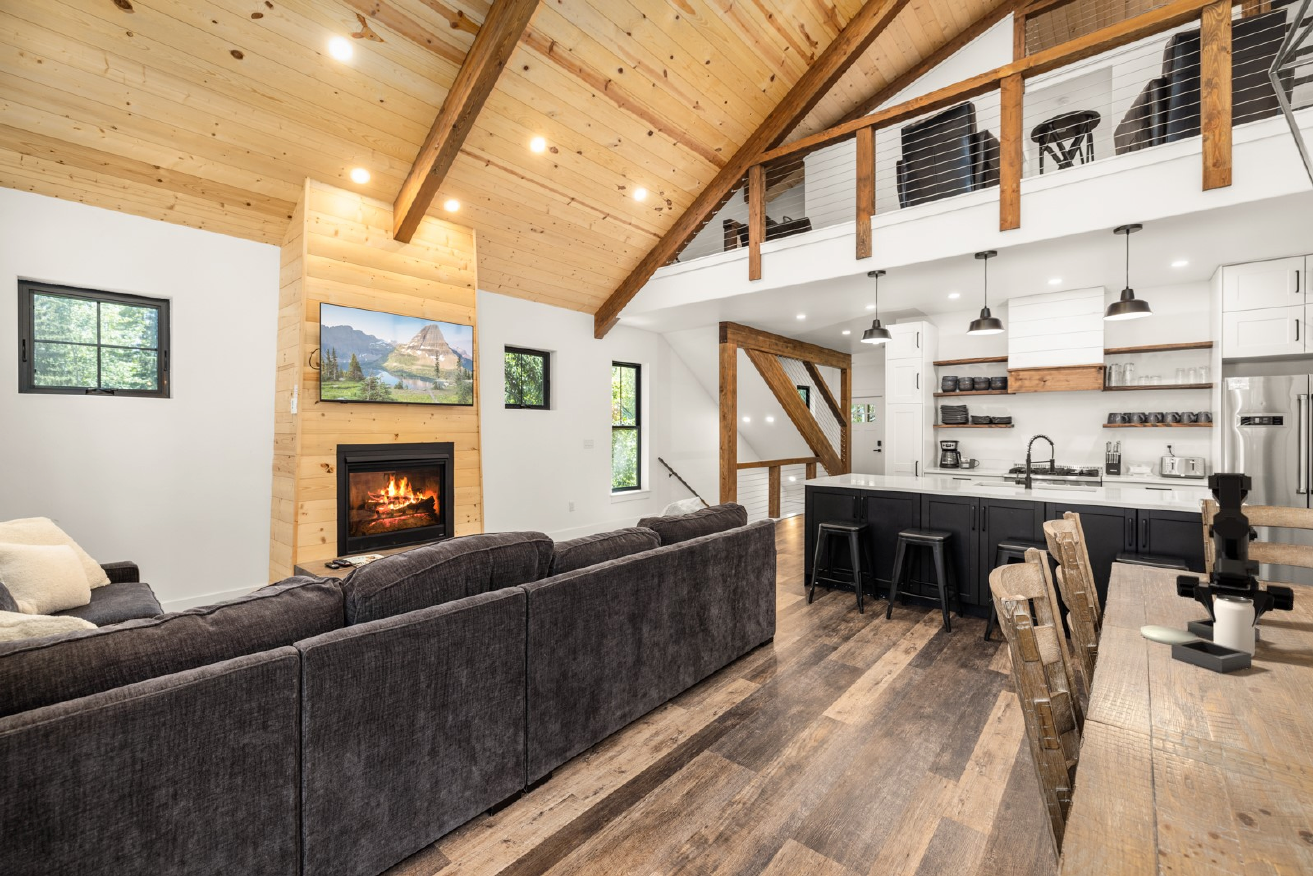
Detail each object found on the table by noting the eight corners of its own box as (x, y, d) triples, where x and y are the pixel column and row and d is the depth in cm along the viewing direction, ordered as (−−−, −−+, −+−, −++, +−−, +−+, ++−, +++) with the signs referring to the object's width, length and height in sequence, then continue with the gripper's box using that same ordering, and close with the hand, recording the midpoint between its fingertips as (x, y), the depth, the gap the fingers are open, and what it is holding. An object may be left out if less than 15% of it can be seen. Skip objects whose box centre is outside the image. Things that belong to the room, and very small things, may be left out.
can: (1236, 647, 132) (1236, 594, 131) (1263, 659, 125) (1263, 603, 125) (1205, 647, 132) (1205, 594, 132) (1230, 658, 126) (1230, 603, 126)
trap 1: (1200, 652, 129) (1199, 639, 129) (1251, 667, 121) (1251, 653, 121) (1171, 658, 127) (1171, 644, 127) (1221, 673, 118) (1221, 659, 118)
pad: (1159, 629, 145) (1159, 623, 145) (1207, 642, 135) (1207, 636, 135) (1130, 634, 142) (1130, 628, 142) (1177, 648, 132) (1177, 641, 132)
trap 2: (1213, 629, 144) (1212, 617, 144) (1259, 642, 135) (1259, 629, 135) (1187, 634, 141) (1187, 621, 141) (1233, 646, 132) (1233, 633, 132)
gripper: (1175, 540, 138) (1173, 596, 130) (1292, 549, 125) (1297, 613, 117) (1178, 567, 144) (1176, 623, 136) (1290, 579, 131) (1295, 641, 123)
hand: (1232, 624), depth 128 cm, fingers closed on can, 5 cm apart
